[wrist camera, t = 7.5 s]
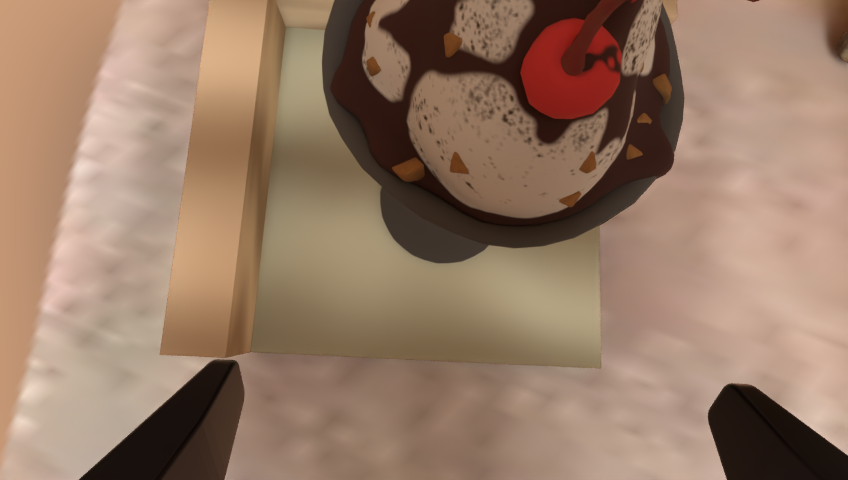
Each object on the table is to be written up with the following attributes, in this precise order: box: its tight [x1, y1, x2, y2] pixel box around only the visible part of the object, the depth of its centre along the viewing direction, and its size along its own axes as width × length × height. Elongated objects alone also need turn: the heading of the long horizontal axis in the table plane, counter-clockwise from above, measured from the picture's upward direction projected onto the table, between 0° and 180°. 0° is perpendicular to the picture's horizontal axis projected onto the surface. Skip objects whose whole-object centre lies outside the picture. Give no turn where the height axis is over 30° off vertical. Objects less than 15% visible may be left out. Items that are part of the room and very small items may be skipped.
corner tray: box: [160, 0, 678, 368], centre depth 18 cm, size 15×17×3 cm
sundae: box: [322, 0, 759, 263], centre depth 11 cm, size 7×7×15 cm
